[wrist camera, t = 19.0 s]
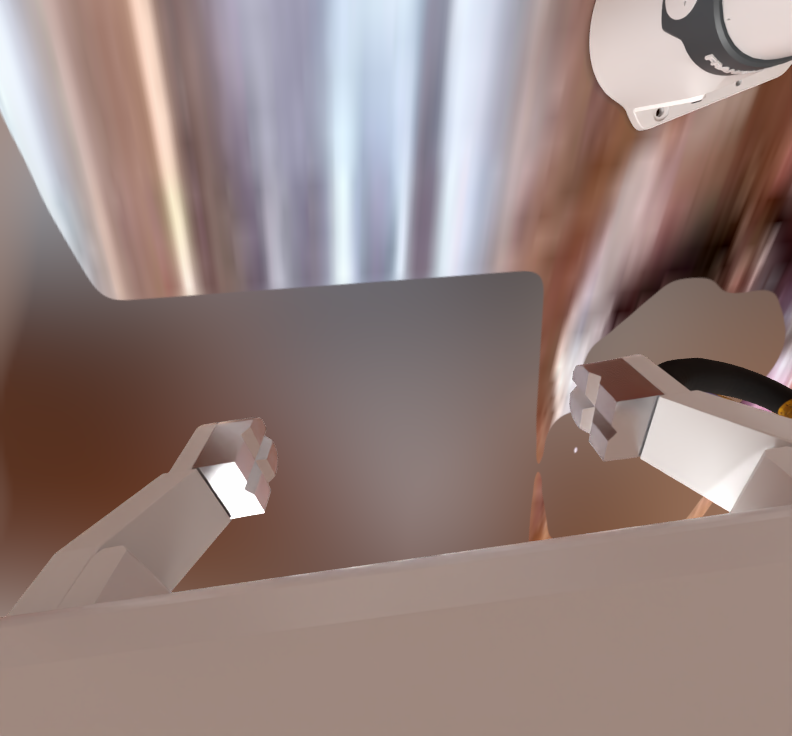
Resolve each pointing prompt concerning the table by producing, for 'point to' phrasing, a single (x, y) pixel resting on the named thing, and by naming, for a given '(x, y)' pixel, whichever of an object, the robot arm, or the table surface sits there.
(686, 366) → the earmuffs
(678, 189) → the table surface
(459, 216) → the table surface
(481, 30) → the table surface
